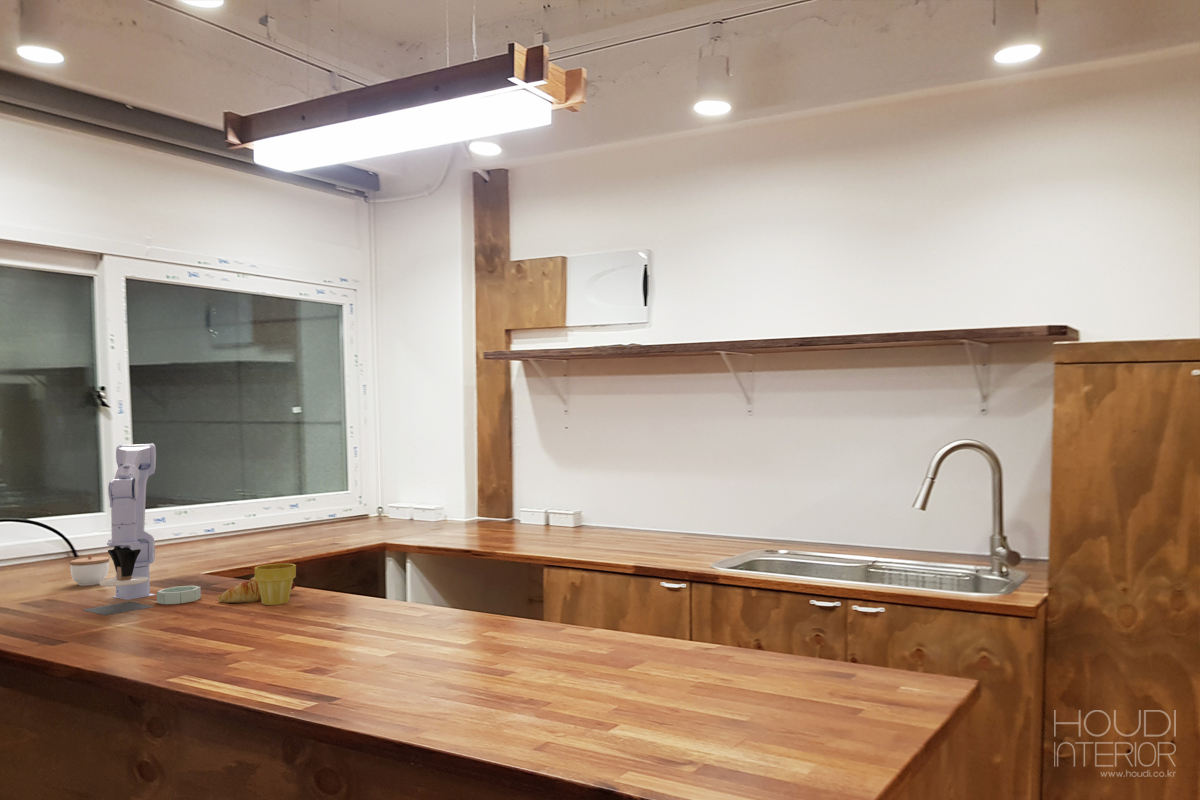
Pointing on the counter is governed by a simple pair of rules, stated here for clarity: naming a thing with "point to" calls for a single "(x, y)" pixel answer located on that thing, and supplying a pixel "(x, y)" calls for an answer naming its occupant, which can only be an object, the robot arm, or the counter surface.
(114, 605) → the mat
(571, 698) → the counter surface
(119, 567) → the lid
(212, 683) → the counter surface
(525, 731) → the counter surface
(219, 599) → the croissant
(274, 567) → the plant pot
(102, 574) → the lidded jar
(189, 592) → the bowl
